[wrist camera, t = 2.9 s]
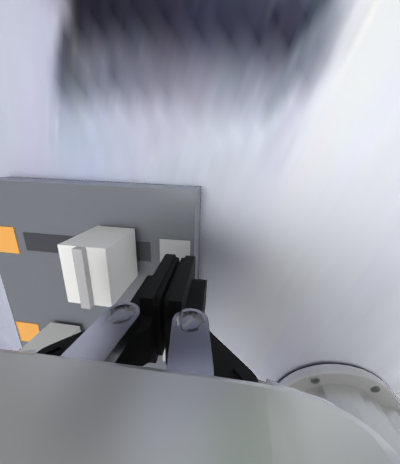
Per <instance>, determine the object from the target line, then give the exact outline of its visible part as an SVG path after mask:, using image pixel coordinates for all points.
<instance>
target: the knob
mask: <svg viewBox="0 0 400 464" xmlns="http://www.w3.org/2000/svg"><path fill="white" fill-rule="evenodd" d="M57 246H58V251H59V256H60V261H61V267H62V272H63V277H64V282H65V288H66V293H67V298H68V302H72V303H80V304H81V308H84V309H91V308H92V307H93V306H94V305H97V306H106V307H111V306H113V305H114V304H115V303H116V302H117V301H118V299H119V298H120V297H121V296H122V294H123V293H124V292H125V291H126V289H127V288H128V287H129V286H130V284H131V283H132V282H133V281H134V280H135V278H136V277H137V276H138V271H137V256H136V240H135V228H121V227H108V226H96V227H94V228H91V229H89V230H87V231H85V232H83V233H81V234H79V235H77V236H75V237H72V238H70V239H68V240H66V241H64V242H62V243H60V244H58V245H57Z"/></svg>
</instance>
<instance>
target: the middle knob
mask: <svg viewBox="0 0 400 464" xmlns="http://www.w3.org/2000/svg"><path fill="white" fill-rule="evenodd" d="M79 332H81V330H80V326H75V325H67V324H60V323H52V322H50V323H49V324H48V325H47V326H46V327H45V328H44V329H42V330H41V331H40V332H39V333H38V334H37V335H36V336H35V337H33V338H32V339H31V340H30V341H29V342H28V343H27V344H26V345H24V346H23V347H22V348H21V349H20V350H19V351H26V350H36V352H38V351H39V350H41V349H42V348H44V347H46V346H48V345H51V344H53V343H55V342H58V341H60V340H62V339H65V338H67V337H70V336H72V335H74V334H77V333H79Z"/></svg>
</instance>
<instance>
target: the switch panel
mask: <svg viewBox="0 0 400 464" xmlns="http://www.w3.org/2000/svg"><path fill="white" fill-rule="evenodd" d="M200 200H201V186H184V185H164V184H143V183H123V182H103V181H83V180H63V179H42V178H22V177H0V274H1V278H2V281H3V284H4V288H5V291H6V295H7V298H8V301H9V305H10V308H11V311H12V315H13V318H14V322H15V325H16V328H17V332H18V335H19V338H20V342H21V345H22V347H23V346H24V345H26V344H27V343H28V342H29V341H30V340H31V339H32V338H33V337H35V336H36V335H37V334H38V333H39V332H40V331H41V330H42V329H44V328H45V327H46V326H47V325H48V324H49V323H50V322H52V323H60V324H67V325H75V326H80V330H81V331H84V330H86V329H88V328H89V327H90V326H91V325H92V324H93V323H94V322H95V321H96V320H97V319H98V318H99V317H100V316H101V315H102V314H103V313H104V312H105V311H106V310H107V309H108V308H110V307H106V306H97V305H94V306H93V307H92V308H91V309H84V308H81V304H80V303H72V302H68V298H67V293H66V288H65V282H64V277H63V272H62V267H61V261H60V256H59V251H58V246H57V245H58V244H60V243H62V242H64V241H66V240H68V239H70V238H72V237H75V236H77V235H79V234H81V233H83V232H85V231H87V230H89V229H91V228H94V227H96V226H108V227H121V228H135V240H136V256H137V271H138V276H137V277H136V278H135V280H134V281H133V282H132V283H131V284H130V286H129V287H128V288H127V289H126V291H125V292H124V293H123V294H122V296H121V297H120V298H119V299H118V301H117V302H116V303H115V304H118V303H121V302H130V301H131V300H132V298H133V297H134V295H135V294H136V292H137V291H138V289H139V288H140V286H141V284H142V283H143V281H144V280H145V278H146V277H147V276H148V275H153V274H154V272H155V271H156V269H157V267H158V266H159V264H160V262H161V261H162V259H163V257H164V256H165V254H175V255H176V257H179V260H181V258H185V256H186V255H188V256H196V267H195V279H198V255H199V228H200ZM115 304H114V305H115ZM144 367H150V368H158V369H165V370H167V365H166V361H165V350H164V353H163V355H162V356H161V355H159V356H158V359H157V362H156V363H147V364H146V365H144Z"/></svg>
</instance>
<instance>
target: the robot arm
mask: <svg viewBox="0 0 400 464" xmlns="http://www.w3.org/2000/svg"><path fill="white" fill-rule="evenodd" d="M195 267H196V256H188V255H186V256H185V258H181V260H179V257H176V255H175V254H165V256H164V257H163V259H162V261H161V262H160V264H159V266H158V267H157V269H156V271H155V272H154V274H153V275H148V276H147V277H146V278H145V280H144V281H143V283H142V284H141V286H140V288H139V289H138V291H137V292H136V294H135V295H134V297H133V298H132V300H131V301H130V302H121V303H118V304H115V305H113V306H111V307H110V308H108V309H107V310H106V311H105V312H104V313H103V314H102V315H101V316H100V317H99V318H98V319H97V320H96V321H95V322H94V323H93V324H92V325H91V326H90V327H89V328H88V329H86V330H84V331H81V332H79V333H77V334H74V335H72V336H70V337H67V338H65V339H62V340H60V341H58V342H55V343H53V344H51V345H48V346H46V347H44V348H42V349H41V350H39V351H38V352H36V350H26V351H13V350H3V349H0V464H400V405H399V402H398V400H397V398H396V397H395V396H394V394H393V393H392V391H391V390H390V388H389V387H388V386H387V385H386V384H385V383H384V382H383V381H382V380H381V379H379V378H378V377H377V376H375V375H374V374H372V373H369V372H367V371H365V370H363V369H360V368H356V367H353V366H348V365H341V364H321V365H314V366H309V367H306V368H302V369H300V370H297V371H295V372H293V373H291V374H289V375H288V376H287V377H285V378H284V379H282V380H281V381H280V382H279V383H277V382H274V381H271V380H268V379H267V380H266V382H264V381H261V380H258V379H257V377H256V376H255V375H254V373H253V372H252V371H251V370H250V369H249V368H248V367H247V366H246V365H245V364H244V363H243V362H242V361H240V360H239V359H238V358H237V357H236V356H235V355H234V354H233V353H232V352H231V351H230V350H229V349H228V348H227V347H226V346H225V345H224V344H223V343H221V342H220V341H219V340H218V339H217V338H216V337H215V336H214V335H213V334H212V333H211V332H210V331H209V322H208V318H207V316H206V315H205V313H204V312H205V303H206V288H207V280H200V279H195ZM164 350H165V361H166V365H167V370H165V369H158V368H150V367H144V365H146V364H147V363H156V362H157V359H158V356H159V355H161V356H162V355H163V353H164Z"/></svg>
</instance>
